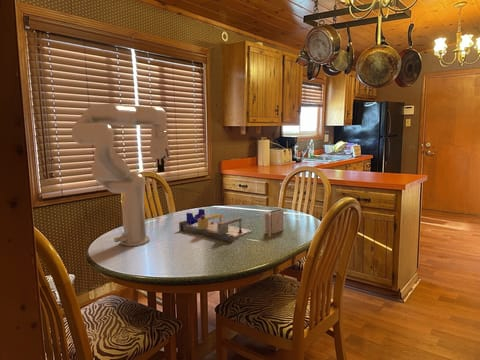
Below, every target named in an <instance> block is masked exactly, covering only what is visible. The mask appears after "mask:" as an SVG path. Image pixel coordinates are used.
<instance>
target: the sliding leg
mask: <svg viewBox="0 0 480 360" xmlns="http://www.w3.org/2000/svg"><path fill="white" fill-rule="evenodd" d="M222 216H223V215H222V213H217V214H213V215H210V216H206V214H205V215H201V218H199V219H198V222H197V226H198V229H200V230H203V229H206V228H208V222H209V221H211V220H214V219H218V218H219V222H223V217H222ZM219 222H218V223H219Z"/></svg>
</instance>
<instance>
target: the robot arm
mask: <svg viewBox="0 0 480 360" xmlns="http://www.w3.org/2000/svg"><path fill="white" fill-rule="evenodd" d="M167 120H168V115H167V111H165V109H163V108H162V107H153V106H140V105H130V104H118V103H95V104H92V105H90V106H89V107H88V108H87V109H86V110H85V111H84V112H83V114H82V115H81V116H79V118H78V119H77V121H76V122H75V123H74V124H73V126H72V128H71V138H72V140H73V141H74V142H75V143H76V144H79V145H95V150H94V156H93V159H94V161H93V163H92V164H91V170H90V171H91V175H92V177H93V178H94V180H96V182H98V183H99V184H100V185H101V186H103V188H104V189H106V190H107V191H108V192H110V193H113V194H123V195H125V196H124V198H123V199H122V203H121V207H122V208H121V211H122V225H123V233H121V235H120V236H117V237H114V238H113V242H114V243H119V242H120V244H121V245H122V246H124V247H126V246H127V247H136V246H137V247H138V246H142V245H146V244H148V243H149V242H150V241H151V238H150V237H149V236H147V231H146V216H145V215H146V213H145V188H146V179H145V177H144V175H142V174H141V173H139V172H132V171H131V169H130V166H129V165H128V164H127V163H126V161H124V159H123V158H122V156H121V157H120V155H119V154H118V153H117V152H116V151H115V148H114V142H115V141H114V139H115V134H114V132H115V131H114V130H113V128H112V125H113V126H141V125H142V126H143V125H144V126H150V135H151V138H150V143H149V144H150V145H149V155H150V156H149V157H150V158H151V159H152V160H153V161H155V163H156V168H157V170H156V171H157V173H165V170H166V169H165V165H166V162H167V161H169V157H170V146H169V140H168V130H167Z"/></svg>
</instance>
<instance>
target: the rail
mask: <svg viewBox="0 0 480 360" xmlns="http://www.w3.org/2000/svg"><path fill="white" fill-rule="evenodd" d="M196 226H197V225H193V224H191V225H190V224H187V220H182V221H179V222H178V227H179V229H178V230H179V232H185V233H190V234H193V235H197V236H200V237H201V236H202V237H204V238H209V239H212V240H217V241H221V242H224V243H228V244H231V243H234V237H233V235H230V234H226V233H225V234H223V235H220V234H218V232H217V231H213V230H209V229H203V230H200V229H198V227H196Z"/></svg>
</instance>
